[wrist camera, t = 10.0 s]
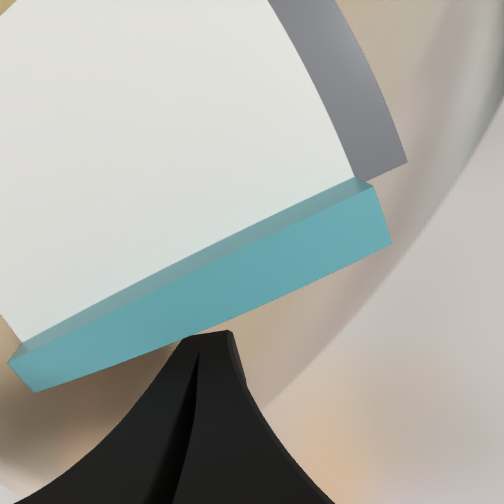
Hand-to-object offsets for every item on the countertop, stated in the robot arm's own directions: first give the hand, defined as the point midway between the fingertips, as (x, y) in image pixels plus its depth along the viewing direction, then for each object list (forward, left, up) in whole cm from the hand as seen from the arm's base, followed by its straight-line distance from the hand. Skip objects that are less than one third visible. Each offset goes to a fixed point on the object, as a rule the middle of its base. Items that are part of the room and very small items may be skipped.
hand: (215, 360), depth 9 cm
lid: (0, +6, -1) cm, 7 cm away
